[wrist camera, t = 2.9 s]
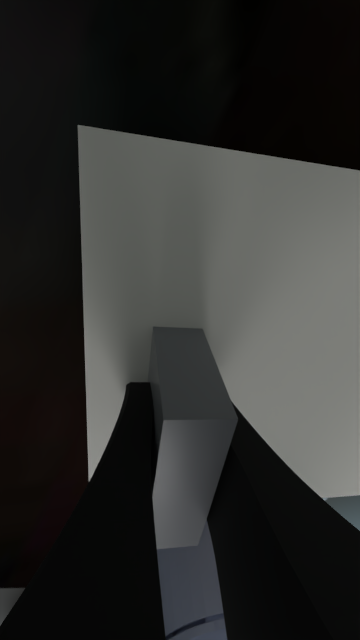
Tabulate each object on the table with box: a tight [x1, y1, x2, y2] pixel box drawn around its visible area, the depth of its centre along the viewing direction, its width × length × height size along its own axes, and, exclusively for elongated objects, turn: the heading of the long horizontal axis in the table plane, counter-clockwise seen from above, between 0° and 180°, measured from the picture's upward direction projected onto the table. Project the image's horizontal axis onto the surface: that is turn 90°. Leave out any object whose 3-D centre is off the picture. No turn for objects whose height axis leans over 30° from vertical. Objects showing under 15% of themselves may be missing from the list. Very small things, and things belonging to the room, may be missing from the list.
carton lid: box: [78, 125, 360, 549], centre depth 9 cm, size 14×14×4 cm
